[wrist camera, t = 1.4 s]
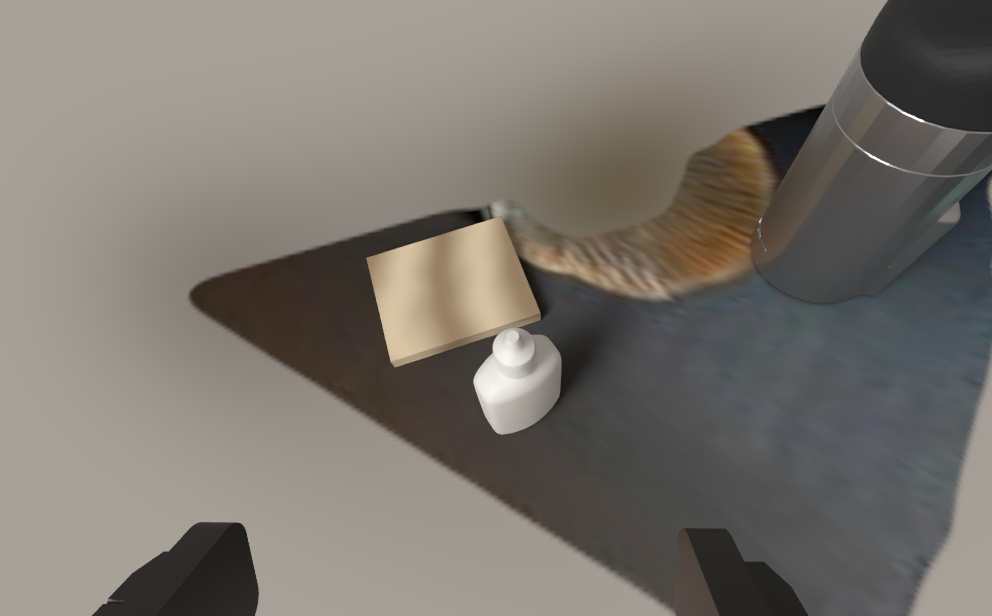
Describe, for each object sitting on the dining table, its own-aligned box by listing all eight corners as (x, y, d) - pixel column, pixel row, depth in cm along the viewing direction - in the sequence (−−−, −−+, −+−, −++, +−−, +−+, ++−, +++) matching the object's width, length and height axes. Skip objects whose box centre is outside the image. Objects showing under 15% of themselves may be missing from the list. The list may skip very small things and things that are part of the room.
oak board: (502, 224, 46) (501, 216, 45) (540, 320, 42) (540, 313, 41) (370, 265, 46) (366, 257, 45) (395, 367, 41) (390, 361, 40)
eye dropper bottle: (483, 379, 40) (459, 305, 29) (557, 373, 40) (560, 295, 29) (486, 437, 38) (461, 379, 27) (564, 430, 37) (570, 369, 27)
